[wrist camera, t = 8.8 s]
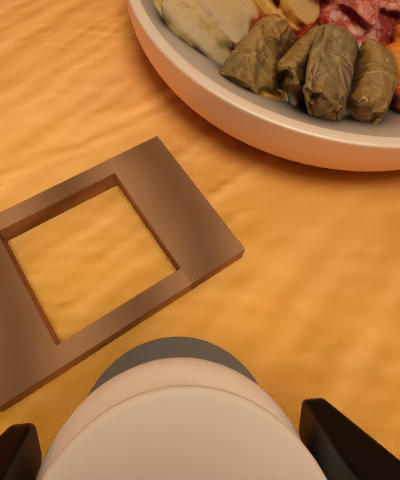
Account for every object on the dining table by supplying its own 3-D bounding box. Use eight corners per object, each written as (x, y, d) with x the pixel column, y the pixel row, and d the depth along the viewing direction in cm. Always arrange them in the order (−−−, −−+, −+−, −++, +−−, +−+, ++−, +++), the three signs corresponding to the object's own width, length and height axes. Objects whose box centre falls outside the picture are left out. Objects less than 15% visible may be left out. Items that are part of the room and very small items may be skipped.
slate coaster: (142, 619, 14) (141, 628, 14) (42, 410, 17) (38, 411, 16) (311, 465, 17) (315, 467, 16) (201, 305, 19) (201, 302, 19)
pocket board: (2, 411, 17) (-10, 412, 16) (-64, 259, 19) (-79, 250, 18) (241, 257, 21) (245, 249, 19) (157, 148, 23) (157, 136, 22)
